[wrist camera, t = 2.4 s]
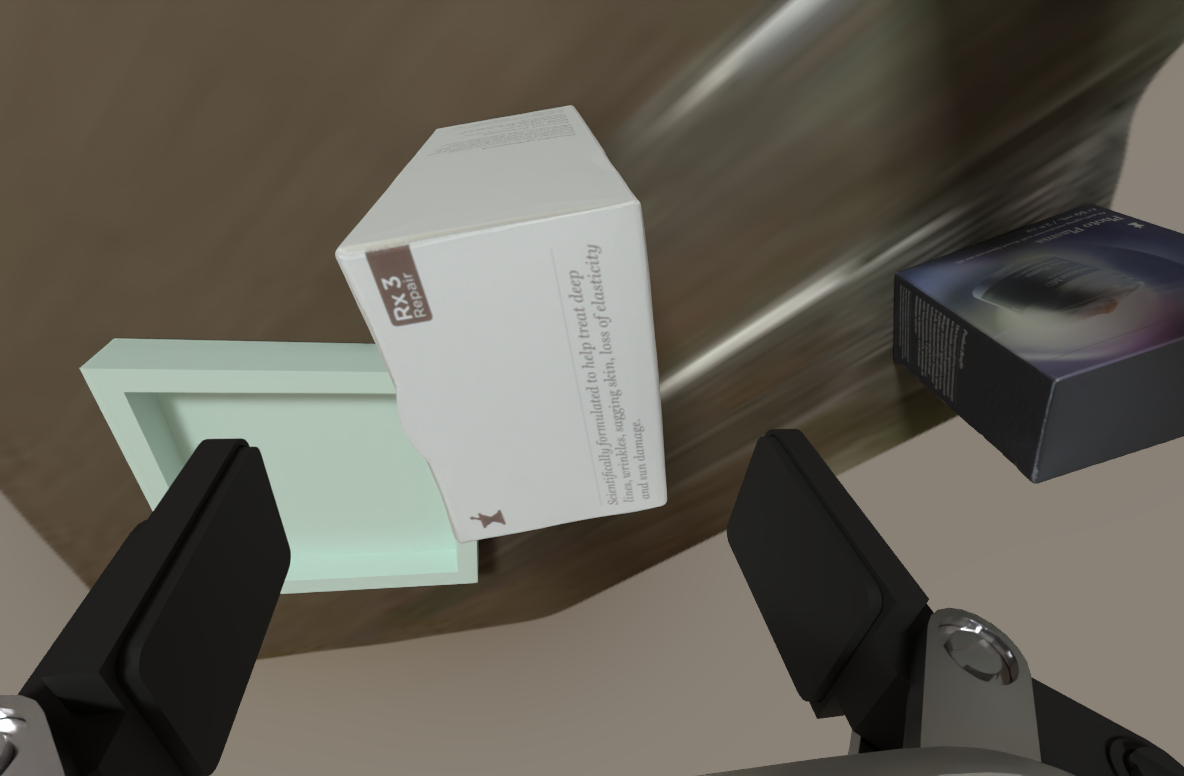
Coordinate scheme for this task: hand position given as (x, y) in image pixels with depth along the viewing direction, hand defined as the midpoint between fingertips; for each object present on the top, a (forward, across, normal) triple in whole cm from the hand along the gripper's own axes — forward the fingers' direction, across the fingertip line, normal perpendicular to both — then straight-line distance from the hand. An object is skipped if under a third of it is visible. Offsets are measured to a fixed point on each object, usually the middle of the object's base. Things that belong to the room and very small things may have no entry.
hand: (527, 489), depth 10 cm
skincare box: (+17, -1, -1) cm, 17 cm away
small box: (+16, -26, +2) cm, 31 cm away
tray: (+17, +9, +14) cm, 24 cm away
